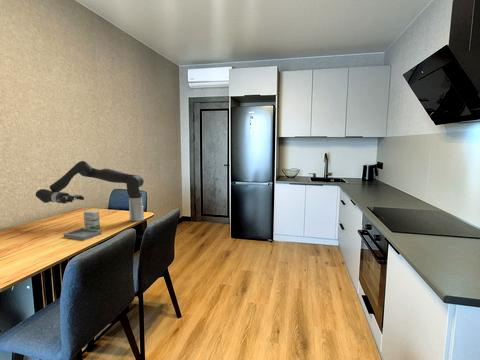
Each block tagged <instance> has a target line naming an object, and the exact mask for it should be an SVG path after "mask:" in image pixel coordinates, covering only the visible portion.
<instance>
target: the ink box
mask: <svg viewBox="0 0 480 360" xmlns="http://www.w3.org/2000/svg"><path fill="white" fill-rule="evenodd" d="M83 220H84V221H83V222H84V228H86V229H93V230H99V229H101V222H100V211H96V210H95V211H94V210H87V211H84V212H83Z"/></svg>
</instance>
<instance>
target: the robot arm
mask: <svg viewBox="0 0 480 360" xmlns="http://www.w3.org/2000/svg"><path fill="white" fill-rule="evenodd" d="M77 174H79V175H80V176H82V177H86V178H93V179H97V180H101V181H105V182H107V183H108V182H109V183H115V184H116V183H117V184H125V185H126V193H127V195H128V206H129V207H128V211H129V213H128V214H129V221H130V222H140V221H143V220H144V219H145V215H144V210H145V209H144V205H143V193H142V192H141V191H140V188H141V187H143V185H144V183H145V182H144V178H143V177H142V176H140V175H138V174H130V173H129V174H128V173H125V172H122V171H119V170H114V169H110V168H102V169H98V168H94V167H92V166H91V165H90V164H89V163H88V162H87V161H85V160H81V161H79V162H77V163H76V164H74V166H72V167H71V168H70V169H69V170H68V171H67V172H66V173H65V174H63V176H62V177H60V178H59V179H57V180H56V181H55V182H53V183H52V184H50V185H49V189H50V190H49V189H45V188H40V189H38V190H37V191H36V192H35V197H36V198H37V199H39V200H40V201H41V202H42V203H45V204H47V203H50V202H51V203H57V204H67V203H73V202H74V201H77V200H78V201H81V200H82V201H85V196H83V195H81V194H80V195H79V194H74V195H71V194H70V193H68V192H63V191H62V190H64V189H66V187H68V185H70V182H71V181H72V179H73V178H74V177H75V176H76V175H77Z"/></svg>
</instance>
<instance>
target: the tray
mask: <svg viewBox="0 0 480 360" xmlns="http://www.w3.org/2000/svg"><path fill="white" fill-rule="evenodd" d="M102 232H103V231H102V230H99V229H97V230H93V229H86V228H85V227H81V228H78V229H74V230H71V231H68V232H66V233H63V238H67V239H68V238H69V239H74V240H79V241H86V240H88V239H91V238H93V237H94V238H95V237H97V236H100V235H102V234H103V233H102Z"/></svg>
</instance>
